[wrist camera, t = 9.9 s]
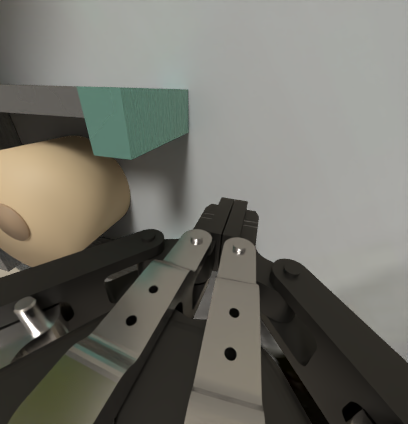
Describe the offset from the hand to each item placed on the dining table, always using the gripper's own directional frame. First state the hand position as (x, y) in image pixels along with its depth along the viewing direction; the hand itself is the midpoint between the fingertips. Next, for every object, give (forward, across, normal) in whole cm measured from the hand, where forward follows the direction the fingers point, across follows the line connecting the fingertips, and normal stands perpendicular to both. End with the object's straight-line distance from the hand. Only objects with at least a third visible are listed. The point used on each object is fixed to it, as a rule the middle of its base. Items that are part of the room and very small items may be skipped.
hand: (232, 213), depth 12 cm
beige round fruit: (+2, +12, +1) cm, 12 cm away
